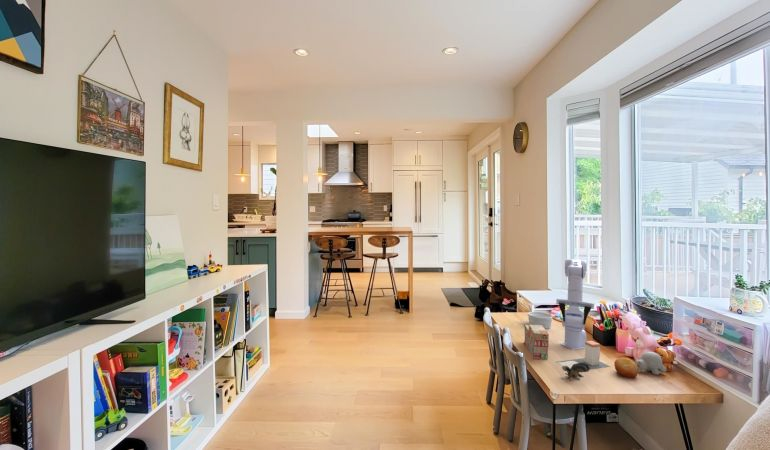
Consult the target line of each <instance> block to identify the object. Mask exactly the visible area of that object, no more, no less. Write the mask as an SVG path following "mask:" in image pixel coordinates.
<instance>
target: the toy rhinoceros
mask: <svg viewBox="0 0 770 450" xmlns="http://www.w3.org/2000/svg"><path fill="white" fill-rule="evenodd" d="M633 360H634V362H635V363H636V364H637V366H638V373H639V374H640V373H642V371H644V370H646V371H649V372H651V373H652V375H656V376H658V375H660V373H666V372H667V368H666V366H665V365H664V364H663V359H662V358H661V356H660V354H659V353H656V352H654V351H644V352H643V353H642V354H641V355H640V359H638V358H637V359H636V358H635V357H633ZM638 373H637V374H638Z"/></svg>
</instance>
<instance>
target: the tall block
mask: <svg viewBox="0 0 770 450" xmlns="http://www.w3.org/2000/svg"><path fill="white" fill-rule="evenodd" d="M600 351H601V344H600V343H598V342H596V341H594V340H588V341H587V340H586V342H585V348H584V362H586V363H588V364H590V365H598V364H599V361H600V356H601V352H600Z"/></svg>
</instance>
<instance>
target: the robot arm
mask: <svg viewBox="0 0 770 450" xmlns="http://www.w3.org/2000/svg"><path fill="white" fill-rule="evenodd" d="M586 272H587V260H586V259H584V260H583V259H568V258H565V260H564V274H565V277H567V299H562V298H561V299H559V298H556V303H555V304H556V305H558V308H559V310H560V312H561V315H562V321H561V322H562V323H561V324H562V327H563V328H564V342H560V346H561V345H562V346H564V347H566V348H568V349H569V350H581V349H582V350H583V349H585V342H586V341H587V335H588V334H587V331H586V330H585V329H586V327H585V326H586V322H587V318H588V315H589V313H590V311H591V310H592V309H595V303H591V302H587V301H583V290H584V289H583V287H584V285H583V283H584V278H585V277H586V274H587V273H586ZM566 306H568V308H567V309H566ZM579 308H583V311H582V310H580V309H579Z"/></svg>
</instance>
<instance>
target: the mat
mask: <svg viewBox="0 0 770 450" xmlns="http://www.w3.org/2000/svg"><path fill="white" fill-rule="evenodd" d="M584 358H585V357H584ZM584 358H583V357H582V358H575V359H567V360H560V361H559V360H558V361H556V363H557V364H558V365H561V367H562V366H568V367H569V368H571V367H572V365H573V364H577V363H585V364H587V365H588V366H589V368H590V370H591V371H592V370H596V369H602V368H603V369H604V368H612V367H611V366H610V365H608V364H606V363H604V362H603V361H600V360H599V364H598V365H590V364H588V363H586V362H584ZM590 370H589V371H590Z"/></svg>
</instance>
